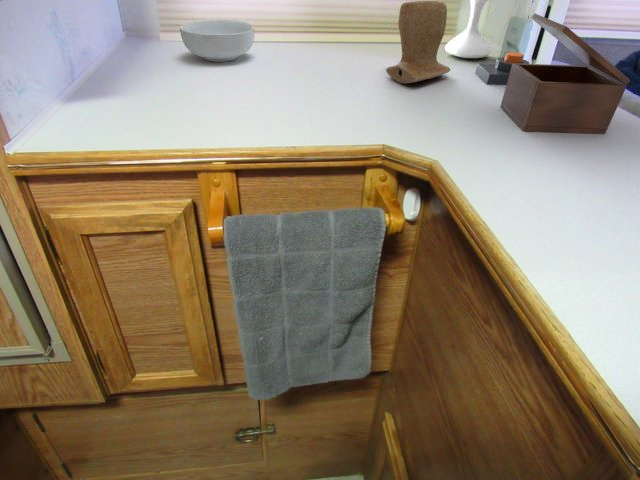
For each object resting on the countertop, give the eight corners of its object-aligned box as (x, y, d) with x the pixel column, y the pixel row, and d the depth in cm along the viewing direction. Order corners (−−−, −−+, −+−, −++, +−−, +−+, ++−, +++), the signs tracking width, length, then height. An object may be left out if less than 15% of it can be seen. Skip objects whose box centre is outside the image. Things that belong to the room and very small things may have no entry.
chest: (523, 131, 69) (539, 82, 65) (500, 107, 79) (512, 63, 74) (605, 134, 70) (627, 85, 65) (572, 109, 79) (589, 65, 74)
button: (517, 60, 93) (520, 52, 92) (523, 65, 90) (526, 56, 89) (501, 60, 93) (503, 51, 92) (507, 64, 90) (509, 55, 89)
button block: (526, 75, 98) (532, 56, 95) (542, 86, 90) (549, 67, 88) (475, 73, 97) (479, 54, 95) (486, 84, 90) (491, 65, 88)
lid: (561, 31, 61) (566, 26, 60) (530, 17, 70) (534, 13, 70) (626, 84, 65) (630, 80, 64) (588, 65, 74) (592, 61, 74)
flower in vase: (497, 61, 107) (529, -60, 92) (456, 62, 105) (482, -61, 90) (471, 49, 117) (496, -61, 103) (433, 50, 115) (453, -63, 100)
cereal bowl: (169, 61, 98) (163, 27, 94) (210, 47, 111) (207, 17, 107) (232, 70, 93) (228, 35, 89) (268, 55, 106) (266, 23, 102)
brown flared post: (412, 66, 101) (423, -6, 92) (455, 77, 94) (472, 0, 85) (370, 77, 93) (378, -2, 84) (414, 90, 86) (428, 6, 77)
